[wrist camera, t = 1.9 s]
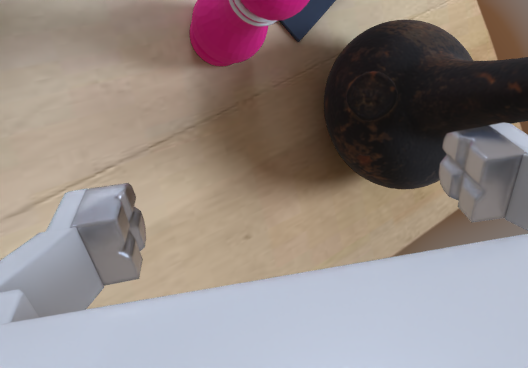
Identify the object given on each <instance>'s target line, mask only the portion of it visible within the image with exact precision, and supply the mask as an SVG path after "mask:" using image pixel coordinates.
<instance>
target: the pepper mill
mask: <svg viewBox="0 0 528 368" xmlns="http://www.w3.org/2000/svg"><path fill="white" fill-rule="evenodd" d="M309 1H310V0H198V1H197V2H196V4H195V6H194V10H193V14H192V22H191V25H190V40H191V44H192V46H193V48H194V50H195V52H196V53H197V54H198V55H199V56H200V57H201V58H202V59H203V60H204V61H206V62H207V63H209V64H211V65H215V66H228V65H231V64H233V63H239V62H242V61H245V60H247V59H249V58H250V57H252V56H253V55H254V54H255V53H256V52H257V51H258V50H259V49H260V47H261V46H262V44H263V42H264V40H265V37H266V34H267V30H268V25H271V24H273V23H275V22H276V21H279V20H285V19H288V18H290V17H292V16H294V15H296V14H297V13H299V12H300V11H301V10H302V9H303V8H304V7H305V6H306V5H307V4H308V2H309Z"/></svg>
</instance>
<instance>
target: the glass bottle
mask: <svg viewBox="0 0 528 368" xmlns="http://www.w3.org/2000/svg"><path fill="white" fill-rule="evenodd" d="M324 114H325V120H326V124H327V128H328V132H329V134H330V137H331V140H332V142H333V144H334V146H335V148H336V150H337V151H338V153H339V155H340V156H341V157H342V159H343V160H344V161H345V162H346V163H347V164H348V166H349V167H351V168H352V169H353V170H354V171H355V172H356V173H358V174H359V175H360V176H362V177H364V178H365V179H367V180H369V181H371V182H373V183H375V184H378V185H381V186H385V187H388V188H395V189H414V188H420V187H424V186H427V185H430V184H432V183H435V182H437V181H439V180H440V178H439V167H440V162H441V161H442V160H443V159H444V157H445V156H446V155H447V154H446V153H445V151H444V150H443V148H442V147H443V141H444V138H445V136H446V134H447V133H451V132H455V131H461V130H466V129H472V128H477V127H483V126H488V125H493V124H498V123H503V122H505V123H510V124H511V123H517V122H523V121H528V57H525V58H518V59H509V60H496V61H473V60H472V58H471V56H470V55H469V53H468V52H467V50H466V49H465V48H464V47H463V45H462V44H461V43H460V42H459V41H458V40H457V39H456V38H455V37H453V36H452V35H451V34H449V33H448V32H446V31H445V30H443V29H441V28H439V27H437V26H435V25H432V24H429V23H426V22H422V21H416V20H396V21H390V22H385V23H382V24H379V25H376V26H374V27H372V28H370V29H368V30H366V31H364V32H363V33H361V34H360V35H358V36H357V37H356V38H354V39H353V40H352V41H351V42H350V43H349V44H348V45H347V46H346V47H345V48H344V49H343V51H342V52H341V53H340V55H339V56H338V58H337V59H336V61H335V63H334V65H333V67H332V69H331V71H330V74H329V76H328V79H327V83H326V88H325V95H324Z"/></svg>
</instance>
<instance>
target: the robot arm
mask: <svg viewBox="0 0 528 368" xmlns="http://www.w3.org/2000/svg"><path fill="white" fill-rule="evenodd" d="M442 148H443V150H444V151H445V153H446V154H447V155H446V156H445V157H444V159H443V160H442V161H441V162H440V167H439V178H440V184H441V186H442V188H443V190H444V191H445V193H446V194H447V195H448V196H449V197H452V198H454V199H456V200H459V202H458V208H459V209H460V210H461V211H462V212H463V213H464V214H465V215H466V217H467V218H468V219H469V220H470V221H471V222H478V221H485V220H492V219H499V218H505V219H506V220H507V221H510V222H511V223H513V224H516V225H518V226H519V227H521V228H523V229H525V230H527V231H528V135H527V134H525V133H524V132H522V131H521V130H519V129H518V128H516V127H515V126H513V125H512V124H510V123H505V122H503V123H498V124H493V125H488V126H483V127H477V128H472V129H466V130H461V131H455V132H451V133H447V134H446V136H445V138H444V141H443V147H442ZM135 200H136V196H135V193H134V191H133V188H132V186H131V185H130V184H129V183H124V184H117V185H110V186H103V187H96V188H89V189H87V188H86V189H81V190H75V191H70V192H67V193H65V194H64V196H63V198H62V200H61V202H60V204H59V206H58V208H57V210H56V212H55V214H54V216H53V218H52V220H51V222H50V224H49V226H48V228H47V230H46V232H42V233H38V234H37V235H36V236H34V237H33V238H31V239H30V240H28V241H27V242H26V243H24V244H23V245H21V246H20V247H19V248H17V249H16V250H14V251H13V252H12V253H10V254H9V255H7V256H6V257H5V258H3V259H2V260H0V368H528V234H524V235H518V236H512V237H506V238H500V239H494V240H489V241H483V242H477V243H471V244H465V245H459V246H454V247H448V248H442V249H436V250H431V251H425V252H419V253H413V254H407V255H401V256H395V257H390V258H384V259H378V260H372V261H366V262H361V263H355V264H349V265H343V266H337V267H331V268H326V269H320V270H314V271H308V272H302V273H296V274H291V275H285V276H279V277H273V278H267V279H261V280H256V281H250V282H244V283H238V284H232V285H227V286H221V287H215V288H209V289H203V290H197V291H192V292H186V293H180V294H174V295H168V296H162V297H157V298H151V299H145V300H139V301H133V302H127V303H122V304H116V305H110V306H104V307H98V308H93V309H87V307H88V306H89V305H90V304H91V303H92V301H93V300H94V299H95V298H96V297H97V295H98V294H99V293H100V292H101V291H102V289H103V288H104V285H110V284H115V283H120V282H125V281H130V280H135V279H139V277H140V271H141V266H142V260H143V259H142V256H141V253H140V251H141V250H142V249H143V248H144V247H145V242H146V228H145V223H144V219H143V216H142V213H141V211H140V210H138V209H137V208H136V207H134V204H135ZM86 309H87V310H86Z"/></svg>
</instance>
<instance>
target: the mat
mask: <svg viewBox="0 0 528 368" xmlns="http://www.w3.org/2000/svg"><path fill="white" fill-rule="evenodd" d="M335 1H336V0H310V1H309V2H308V4H307V5H306V6H305V7H304V8H303V9H302V10H301V11H300V12H299V13H297V14H296V15H294V16H292V17H290V18H288V19H285V20H279V21H280V22H281V23H282V25H283V26H284V27H285V28H286V29H287V30H288V31H289V32H290V34H291V35H292V36H293V37H294V38H295V39H296V40H297V41H298V42H299V41H300V40H301V39H302V38H303V37H304V36H305V35H306V34H307V32H308V31H309V30H310V29H311V28H312V27H313V26H314V24H315V23H316V22H317V21H318V20H319V19H320V18H321V16H322V15H323V14H324V13H325V12H326V11H327V10H328V9H329V7H330V6H331V5H332V4H333V3H334V2H335Z"/></svg>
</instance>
